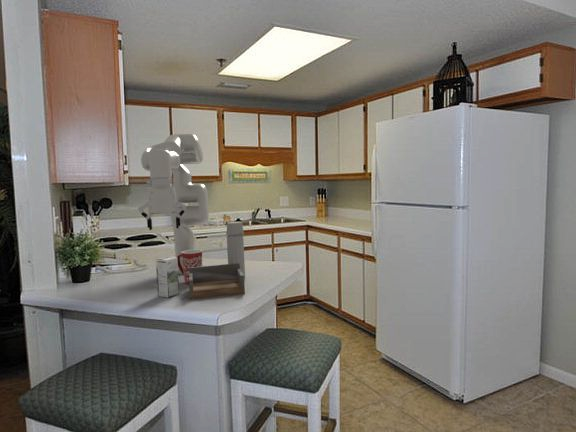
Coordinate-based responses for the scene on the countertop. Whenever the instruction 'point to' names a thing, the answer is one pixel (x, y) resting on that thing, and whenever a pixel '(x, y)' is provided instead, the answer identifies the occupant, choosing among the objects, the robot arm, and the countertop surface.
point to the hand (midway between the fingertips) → (164, 228)
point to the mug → (189, 262)
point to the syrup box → (167, 276)
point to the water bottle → (235, 244)
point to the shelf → (216, 281)
